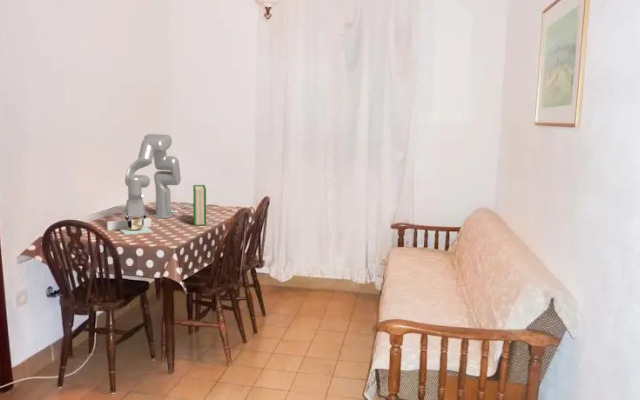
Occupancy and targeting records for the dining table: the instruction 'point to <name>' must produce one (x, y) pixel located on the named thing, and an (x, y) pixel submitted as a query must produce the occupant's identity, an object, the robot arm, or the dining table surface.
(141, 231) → the sage mat
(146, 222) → the off-white screen
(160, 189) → the robot arm
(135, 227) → the maple letter block
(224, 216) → the dining table surface
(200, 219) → the hardback book
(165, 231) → the dining table surface
